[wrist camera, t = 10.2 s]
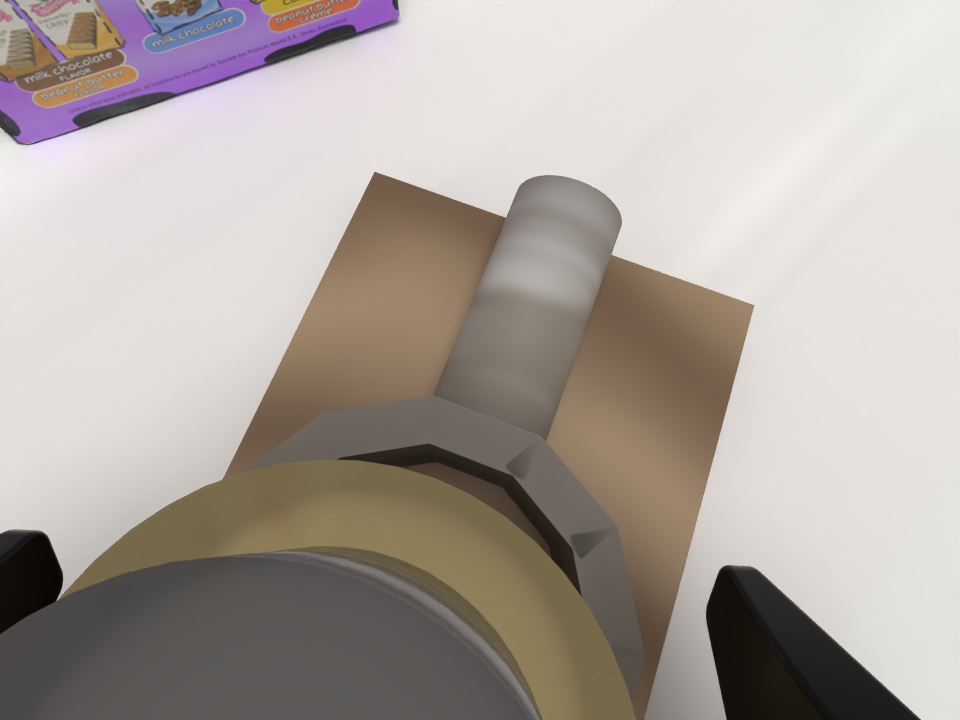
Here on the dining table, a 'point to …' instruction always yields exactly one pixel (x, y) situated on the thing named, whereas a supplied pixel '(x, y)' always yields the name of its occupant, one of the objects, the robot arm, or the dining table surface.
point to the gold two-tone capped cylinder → (316, 612)
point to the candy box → (148, 51)
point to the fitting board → (602, 402)
